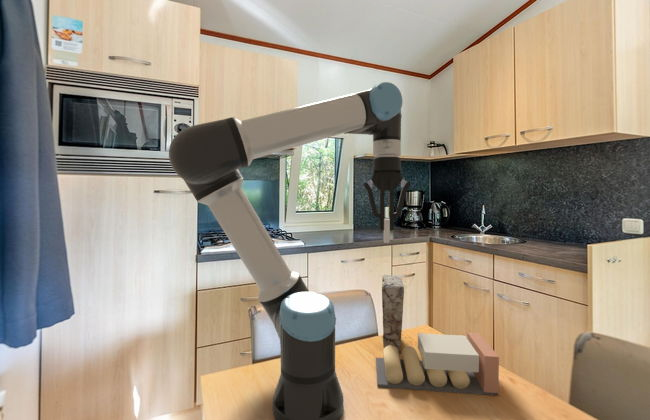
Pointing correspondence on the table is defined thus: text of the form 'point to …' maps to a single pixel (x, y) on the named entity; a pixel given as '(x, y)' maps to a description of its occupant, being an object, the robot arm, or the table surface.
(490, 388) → the stop block
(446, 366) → the slab
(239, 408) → the table surface
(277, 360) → the table surface
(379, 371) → the roller bed
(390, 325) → the stone block
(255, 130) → the robot arm
